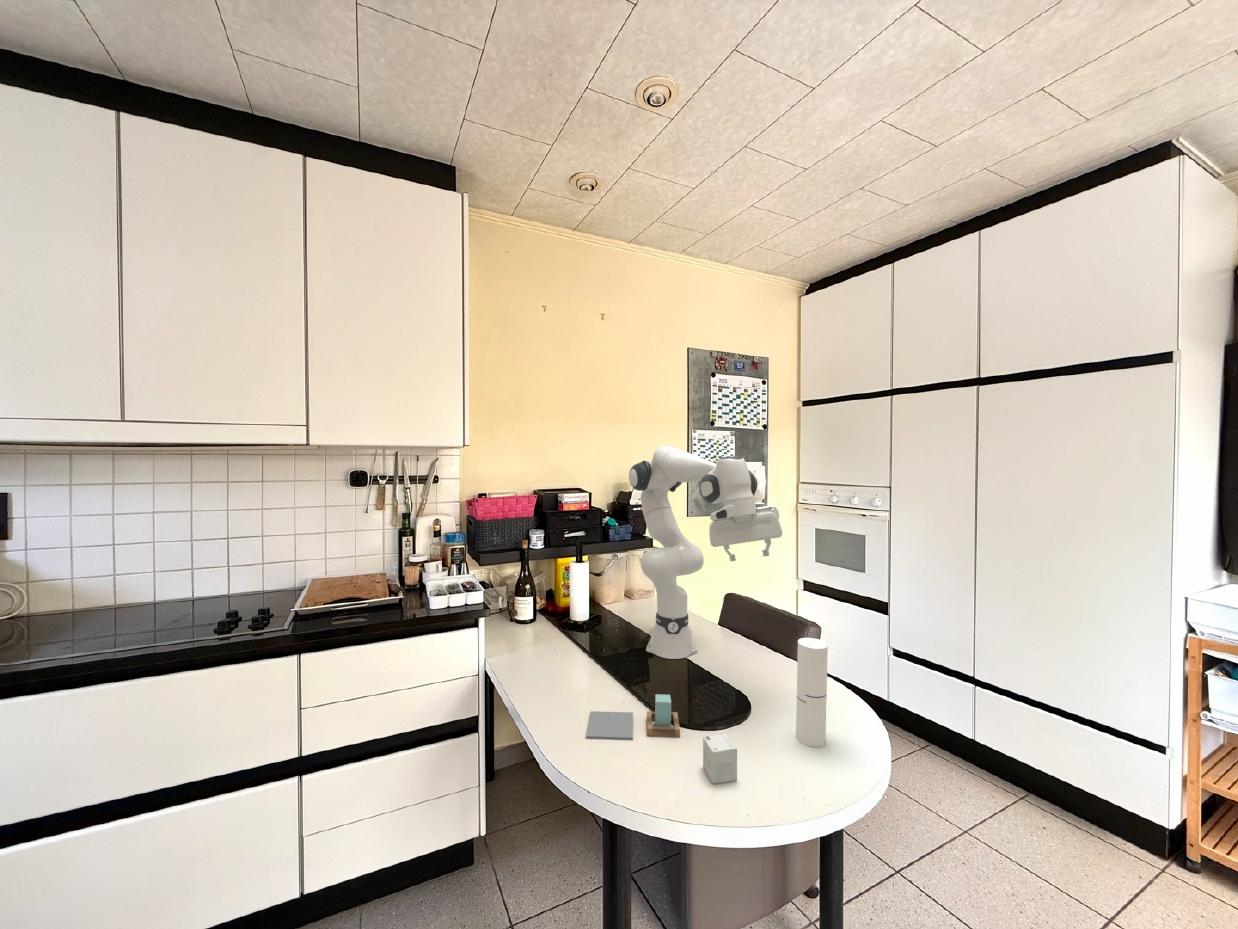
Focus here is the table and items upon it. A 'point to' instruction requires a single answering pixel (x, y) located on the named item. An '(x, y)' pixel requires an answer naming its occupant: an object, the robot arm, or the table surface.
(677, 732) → the pocket
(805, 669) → the cylindrical container
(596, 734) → the mat
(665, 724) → the teal block
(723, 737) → the skincare box
